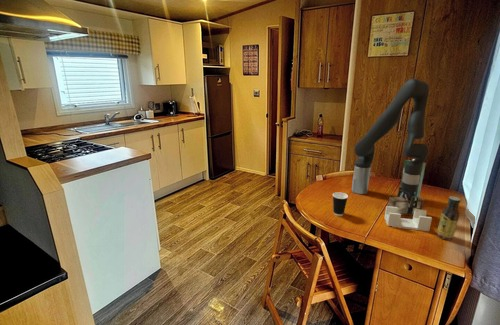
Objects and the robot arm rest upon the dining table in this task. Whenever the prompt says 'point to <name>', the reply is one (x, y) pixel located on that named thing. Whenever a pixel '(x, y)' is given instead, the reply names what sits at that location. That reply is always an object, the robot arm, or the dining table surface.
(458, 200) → the sauce bottle
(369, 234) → the dining table surface
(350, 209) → the dining table surface
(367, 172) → the robot arm
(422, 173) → the milk carton
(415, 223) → the white notched block
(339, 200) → the dixie cup
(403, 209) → the grey tapered panel
